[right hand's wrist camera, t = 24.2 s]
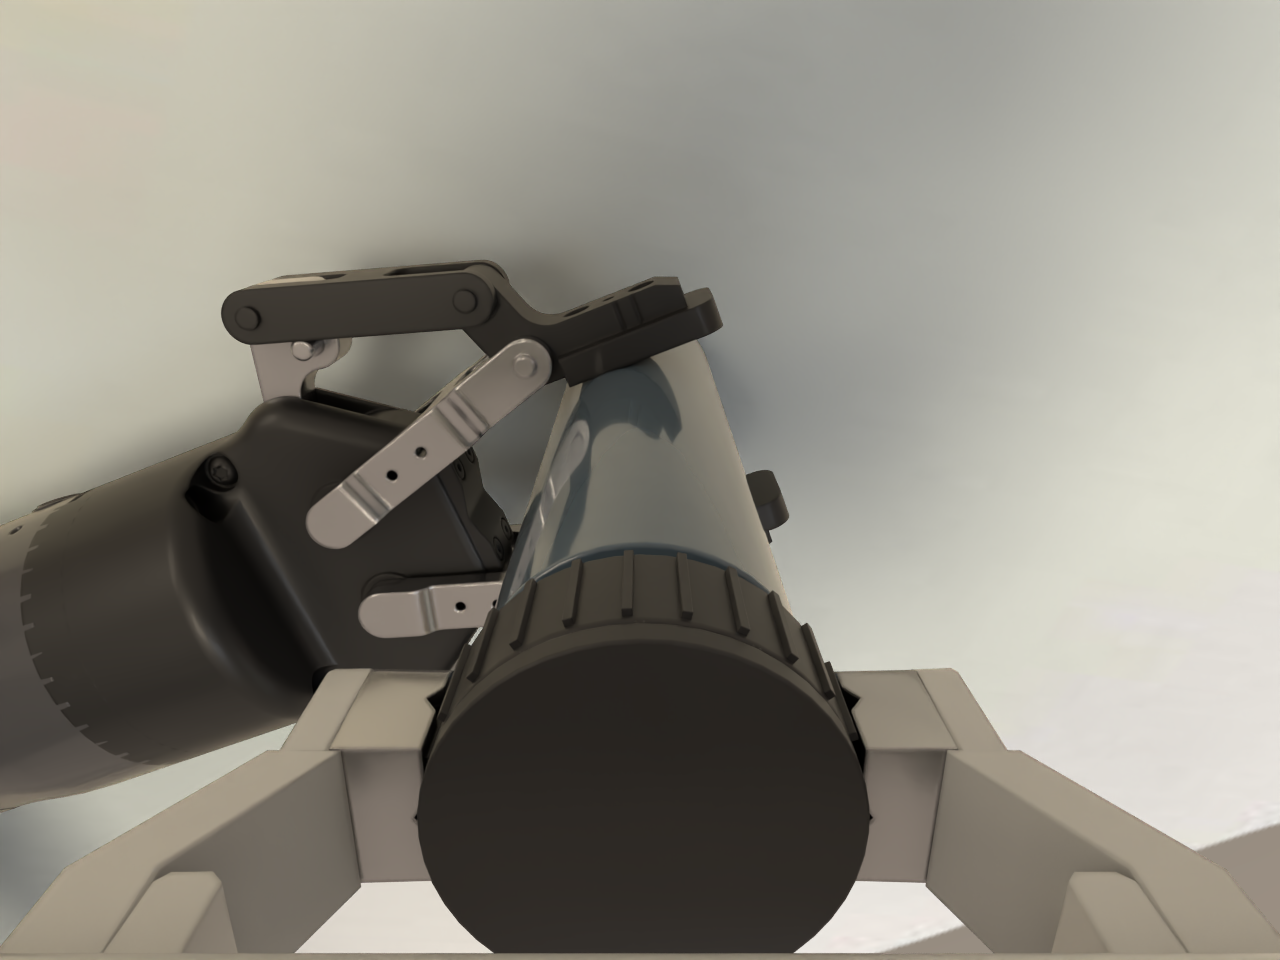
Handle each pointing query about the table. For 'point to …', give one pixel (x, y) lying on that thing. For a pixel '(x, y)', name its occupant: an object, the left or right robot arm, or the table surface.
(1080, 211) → the table surface
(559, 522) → the blue-grey bottle
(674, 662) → the lid
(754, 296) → the table surface
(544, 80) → the table surface
